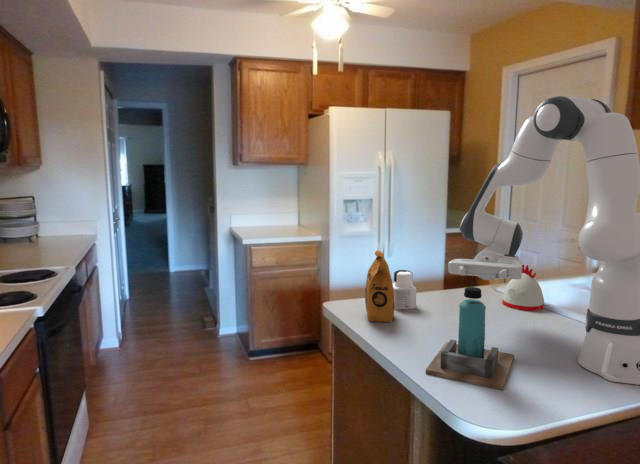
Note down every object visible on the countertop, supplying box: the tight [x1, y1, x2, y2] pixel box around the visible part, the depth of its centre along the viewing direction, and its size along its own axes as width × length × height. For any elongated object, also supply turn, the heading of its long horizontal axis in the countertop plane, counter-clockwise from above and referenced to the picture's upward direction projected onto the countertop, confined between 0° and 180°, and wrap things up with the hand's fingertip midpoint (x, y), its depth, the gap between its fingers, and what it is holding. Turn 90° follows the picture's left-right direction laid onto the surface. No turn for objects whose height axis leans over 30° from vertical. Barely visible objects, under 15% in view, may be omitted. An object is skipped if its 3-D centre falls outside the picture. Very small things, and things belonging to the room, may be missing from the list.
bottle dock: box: [425, 339, 515, 391], centre depth 119 cm, size 18×20×5 cm
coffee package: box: [364, 249, 395, 323], centre depth 155 cm, size 10×12×22 cm
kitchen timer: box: [501, 264, 545, 312], centre depth 168 cm, size 14×14×15 cm
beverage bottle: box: [457, 286, 486, 359], centre depth 116 cm, size 6×7×20 cm
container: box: [392, 269, 417, 310], centre depth 167 cm, size 8×8×13 cm
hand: (480, 274), depth 128 cm, fingers open, 8 cm apart
